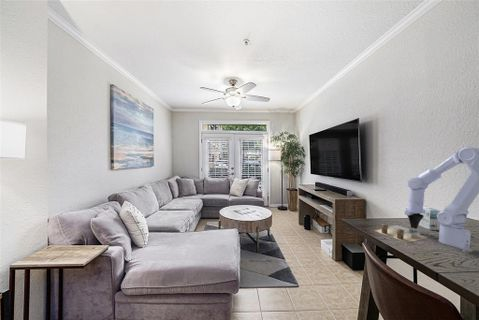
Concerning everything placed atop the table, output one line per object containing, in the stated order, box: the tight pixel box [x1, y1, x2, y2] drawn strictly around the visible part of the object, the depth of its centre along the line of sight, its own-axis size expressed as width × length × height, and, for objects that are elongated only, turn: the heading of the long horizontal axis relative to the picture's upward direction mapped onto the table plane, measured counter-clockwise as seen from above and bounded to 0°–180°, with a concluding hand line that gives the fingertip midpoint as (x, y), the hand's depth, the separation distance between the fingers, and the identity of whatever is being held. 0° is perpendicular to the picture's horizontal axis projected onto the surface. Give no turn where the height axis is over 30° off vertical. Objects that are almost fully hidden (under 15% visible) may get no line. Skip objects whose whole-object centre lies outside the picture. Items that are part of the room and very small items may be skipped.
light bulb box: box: [418, 205, 441, 231], centre depth 121 cm, size 11×7×11 cm, turn 179°
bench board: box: [373, 223, 427, 243], centre depth 104 cm, size 15×16×5 cm
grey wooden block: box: [388, 224, 421, 238], centre depth 105 cm, size 10×7×2 cm
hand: (413, 227), depth 109 cm, fingers closed
